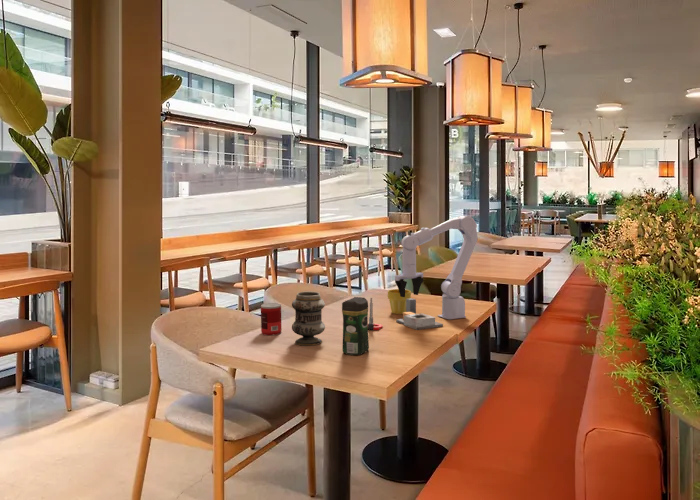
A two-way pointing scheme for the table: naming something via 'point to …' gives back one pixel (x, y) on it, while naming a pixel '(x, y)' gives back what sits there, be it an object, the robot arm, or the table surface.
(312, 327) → the apothecary jar
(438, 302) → the table surface
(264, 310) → the canned food
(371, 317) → the tow hook
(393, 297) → the plant pot
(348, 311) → the coffee jar
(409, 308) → the pin
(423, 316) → the bracket fixture
